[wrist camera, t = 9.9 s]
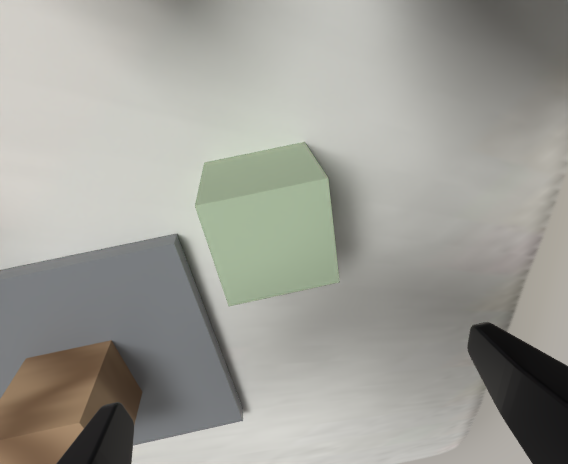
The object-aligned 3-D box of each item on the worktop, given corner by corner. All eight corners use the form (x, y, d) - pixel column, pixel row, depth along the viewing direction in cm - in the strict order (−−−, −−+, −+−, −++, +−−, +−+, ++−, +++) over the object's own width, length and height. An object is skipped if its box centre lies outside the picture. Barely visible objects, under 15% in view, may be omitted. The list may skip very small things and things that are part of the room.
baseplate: (176, 233, 19) (173, 243, 18) (242, 408, 27) (243, 420, 26) (-127, 296, 18) (-145, 309, 17) (35, 454, 26) (28, 468, 25)
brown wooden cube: (111, 340, 20) (79, 422, 16) (142, 391, 23) (121, 475, 19) (25, 358, 20) (-30, 446, 16) (66, 408, 23) (28, 496, 18)
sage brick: (304, 141, 17) (328, 177, 13) (316, 227, 20) (339, 282, 15) (204, 162, 17) (195, 206, 13) (229, 246, 20) (228, 306, 15)
